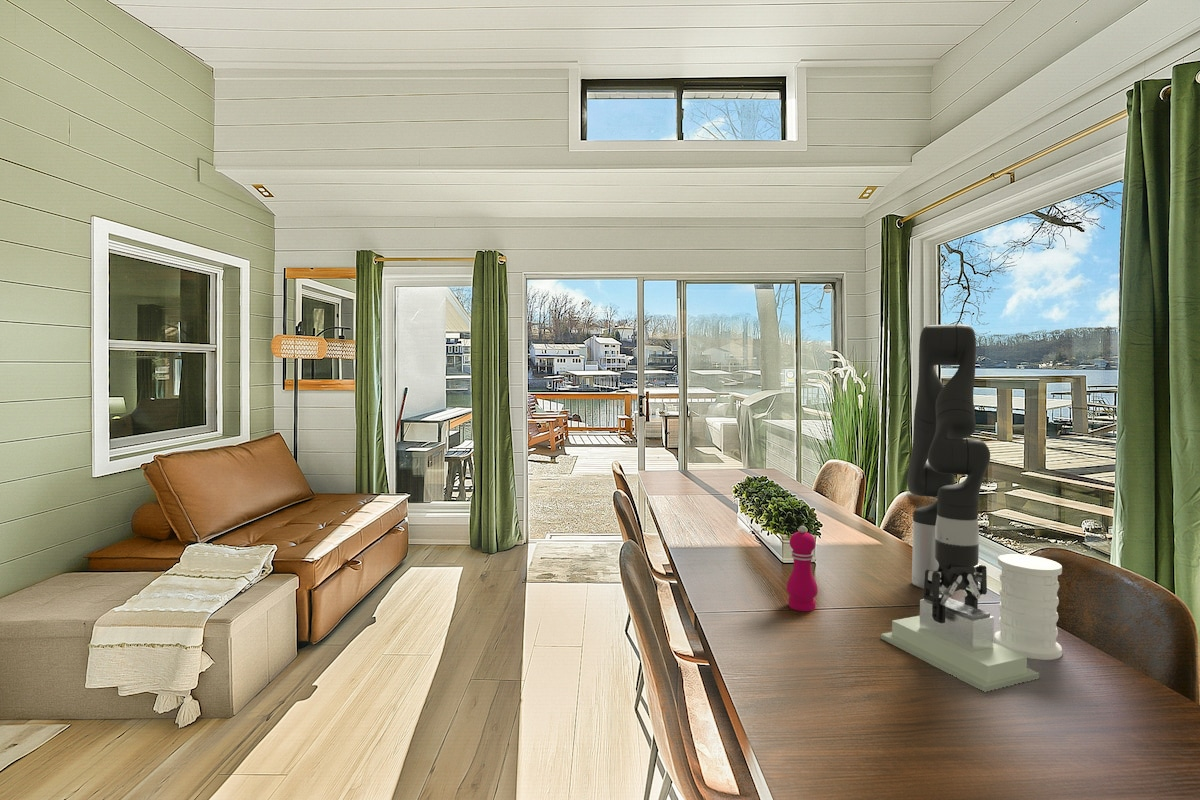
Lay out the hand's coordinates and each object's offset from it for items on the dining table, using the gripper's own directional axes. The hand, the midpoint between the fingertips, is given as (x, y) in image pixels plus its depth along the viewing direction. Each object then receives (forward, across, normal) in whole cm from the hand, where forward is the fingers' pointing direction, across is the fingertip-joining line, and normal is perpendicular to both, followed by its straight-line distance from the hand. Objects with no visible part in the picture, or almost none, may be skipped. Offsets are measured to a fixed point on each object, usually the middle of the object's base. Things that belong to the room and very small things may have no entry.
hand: (955, 618), depth 123 cm
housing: (+4, 0, 0) cm, 4 cm away
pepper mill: (+8, -11, +33) cm, 36 cm away
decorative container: (+8, +18, -2) cm, 20 cm away
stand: (+8, 0, 0) cm, 8 cm away
